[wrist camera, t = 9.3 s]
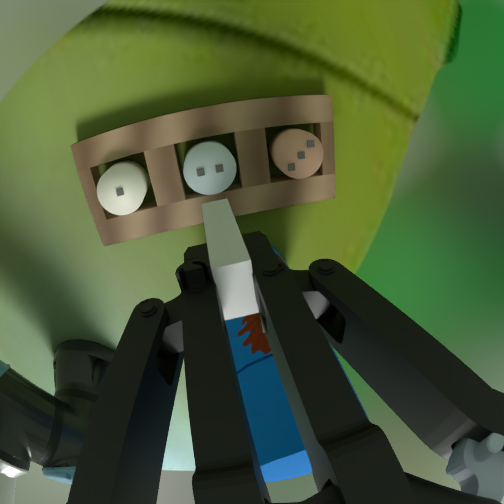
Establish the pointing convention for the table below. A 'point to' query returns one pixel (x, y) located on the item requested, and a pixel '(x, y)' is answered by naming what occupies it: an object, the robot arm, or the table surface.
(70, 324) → the table surface
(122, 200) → the button one
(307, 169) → the button three
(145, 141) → the board
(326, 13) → the table surface
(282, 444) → the thermos
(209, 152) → the button two
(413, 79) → the table surface
